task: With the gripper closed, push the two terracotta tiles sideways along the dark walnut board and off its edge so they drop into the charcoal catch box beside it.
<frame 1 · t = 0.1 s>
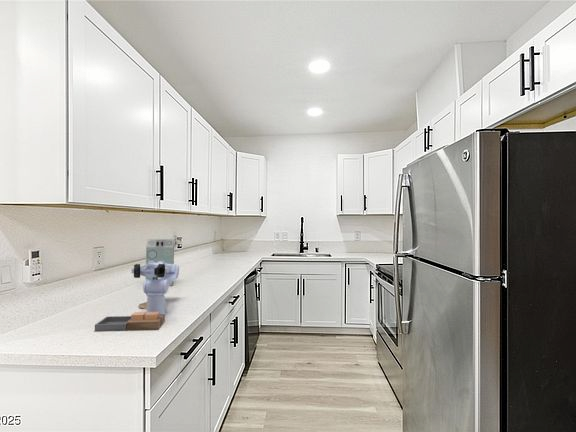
hand: (145, 271, 143), 22 cm above the worktop, tool horizontal, fingers open, 7 cm apart
catch box: (115, 326, 142), on the worktop
tile 1: (138, 318, 144), point 3 cm above the worktop, touching board
device: (159, 285, 235), on the worktop
tile 2: (151, 318, 144), point 3 cm above the worktop, touching board
fish fossil: (154, 304, 185), on the worktop
board: (146, 325, 144), on the worktop
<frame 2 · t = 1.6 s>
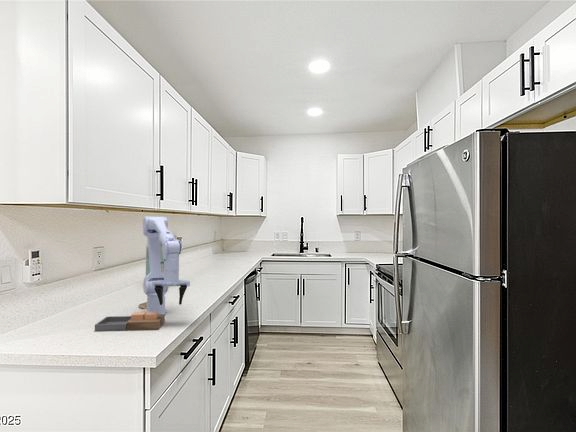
hand: (170, 304, 145), 8 cm above the worktop, tool pointing down, fingers open, 7 cm apart
nothing on the worktop moved.
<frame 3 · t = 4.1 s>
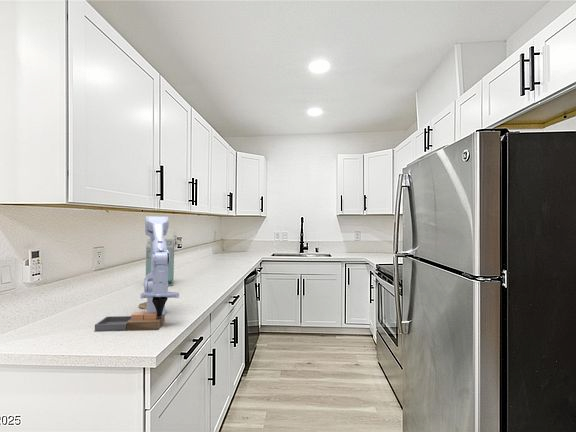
hand: (159, 316, 145), 4 cm above the worktop, tool pointing down, fingers closed
tile 2: (151, 318, 144), point 3 cm above the worktop, touching gripper
everything else where it was.
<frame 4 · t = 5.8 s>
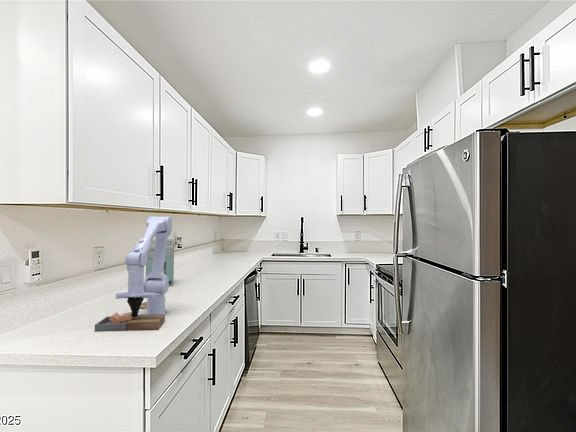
hand: (135, 316, 143), 4 cm above the worktop, tool pointing down, fingers closed
tile 1: (118, 317, 142), point 4 cm above the worktop, tilted 135°, touching catch box, tile 2
tile 2: (127, 319, 143), point 3 cm above the worktop, tilted 10°, touching tile 1
everything else where it was.
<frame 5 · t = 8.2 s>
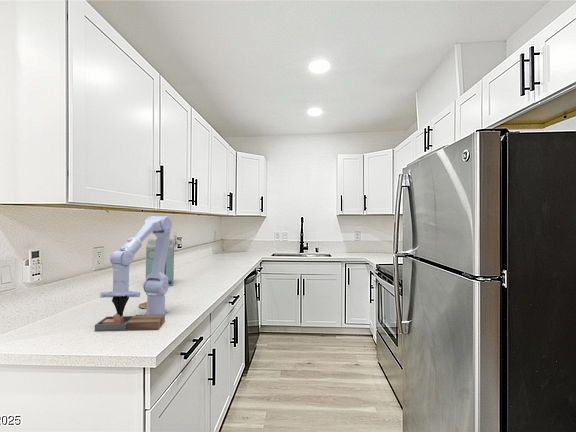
hand: (119, 315, 142), 4 cm above the worktop, tool pointing down, fingers closed, pressing on tile 2
tile 1: (110, 320, 142), point 2 cm above the worktop, tilted 180°, touching catch box, tile 2
tile 2: (121, 318, 142), point 3 cm above the worktop, tilted 102°, touching catch box, gripper, tile 1
everything else where it was.
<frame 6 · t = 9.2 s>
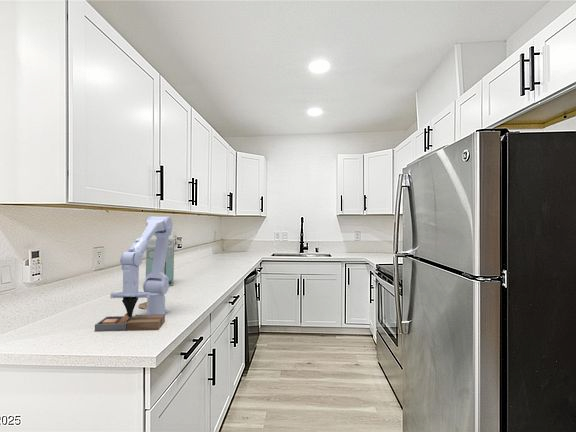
hand: (129, 316, 143), 4 cm above the worktop, tool pointing down, fingers closed, pressing on tile 2
tile 1: (110, 320, 142), point 2 cm above the worktop, tilted 180°, touching catch box
tile 2: (126, 320, 143), point 2 cm above the worktop, tilted 49°, touching catch box, gripper
everything else where it was.
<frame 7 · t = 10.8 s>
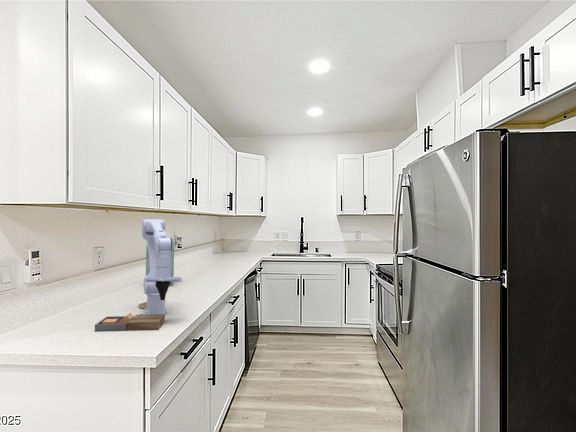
hand: (162, 299, 149), 9 cm above the worktop, tool pointing down, fingers closed
tile 2: (126, 321, 143), point 2 cm above the worktop, tilted 38°, touching catch box
everything else where it was.
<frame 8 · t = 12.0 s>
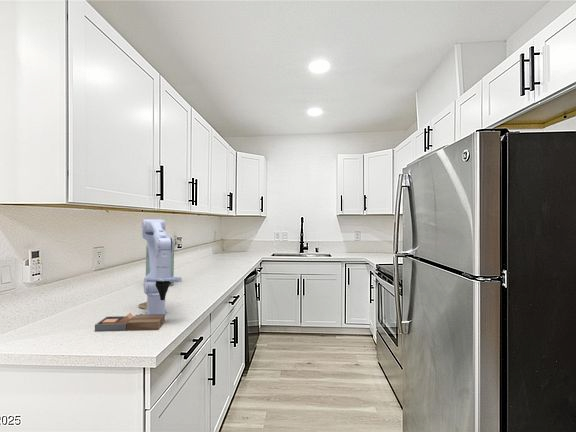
hand: (162, 299, 149), 9 cm above the worktop, tool pointing down, fingers closed
nothing on the worktop moved.
at the end: tile 1 inside the target area (1.6 cm from its centre), point 2.5 cm above the worktop; tile 2 inside the target area (4.6 cm from its centre), point 1.9 cm above the worktop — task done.
